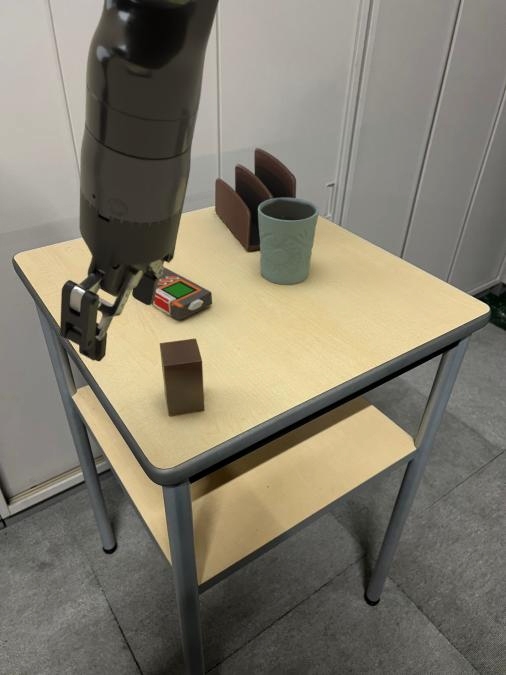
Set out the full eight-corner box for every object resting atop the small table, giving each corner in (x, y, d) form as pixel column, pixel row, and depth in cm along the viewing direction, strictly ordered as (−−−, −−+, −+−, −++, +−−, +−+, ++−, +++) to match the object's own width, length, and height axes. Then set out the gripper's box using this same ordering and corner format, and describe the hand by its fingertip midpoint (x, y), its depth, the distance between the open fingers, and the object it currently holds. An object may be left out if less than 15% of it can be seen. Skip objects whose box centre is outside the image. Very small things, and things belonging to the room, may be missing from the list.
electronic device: (156, 261, 89) (212, 290, 80) (158, 276, 91) (213, 307, 82) (122, 274, 85) (178, 307, 77) (125, 289, 87) (180, 323, 78)
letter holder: (257, 206, 116) (258, 142, 107) (294, 244, 101) (300, 173, 92) (214, 212, 113) (212, 146, 104) (247, 252, 98) (248, 179, 89)
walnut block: (168, 416, 63) (163, 366, 58) (164, 392, 66) (159, 342, 62) (204, 410, 64) (202, 360, 59) (198, 387, 67) (196, 338, 62)
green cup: (273, 291, 87) (277, 225, 79) (245, 265, 94) (246, 202, 87) (323, 278, 91) (331, 213, 83) (293, 254, 98) (297, 192, 91)
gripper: (142, 128, 43) (126, 268, 55) (23, 208, 33) (36, 356, 45) (221, 167, 42) (188, 300, 54) (123, 261, 33) (109, 397, 45)
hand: (118, 326), depth 50 cm, fingers open, 8 cm apart
